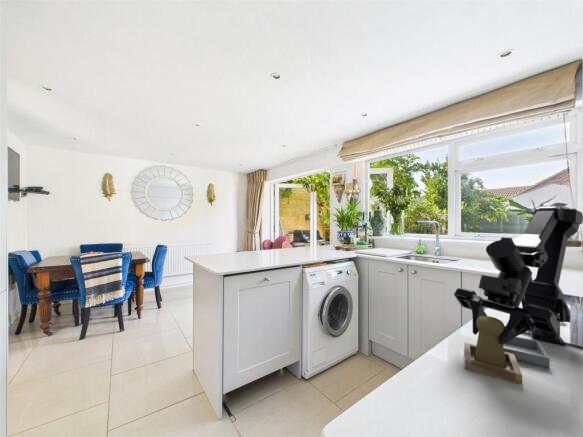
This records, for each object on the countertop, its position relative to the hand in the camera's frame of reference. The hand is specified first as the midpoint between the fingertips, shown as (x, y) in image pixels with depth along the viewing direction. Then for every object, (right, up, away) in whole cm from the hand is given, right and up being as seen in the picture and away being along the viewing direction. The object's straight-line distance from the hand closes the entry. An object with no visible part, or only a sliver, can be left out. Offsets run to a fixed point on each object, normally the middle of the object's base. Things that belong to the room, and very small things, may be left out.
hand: (486, 338), depth 57 cm
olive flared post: (+1, -7, +1) cm, 7 cm away
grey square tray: (+12, -7, +6) cm, 15 cm away
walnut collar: (+1, -7, +1) cm, 7 cm away
